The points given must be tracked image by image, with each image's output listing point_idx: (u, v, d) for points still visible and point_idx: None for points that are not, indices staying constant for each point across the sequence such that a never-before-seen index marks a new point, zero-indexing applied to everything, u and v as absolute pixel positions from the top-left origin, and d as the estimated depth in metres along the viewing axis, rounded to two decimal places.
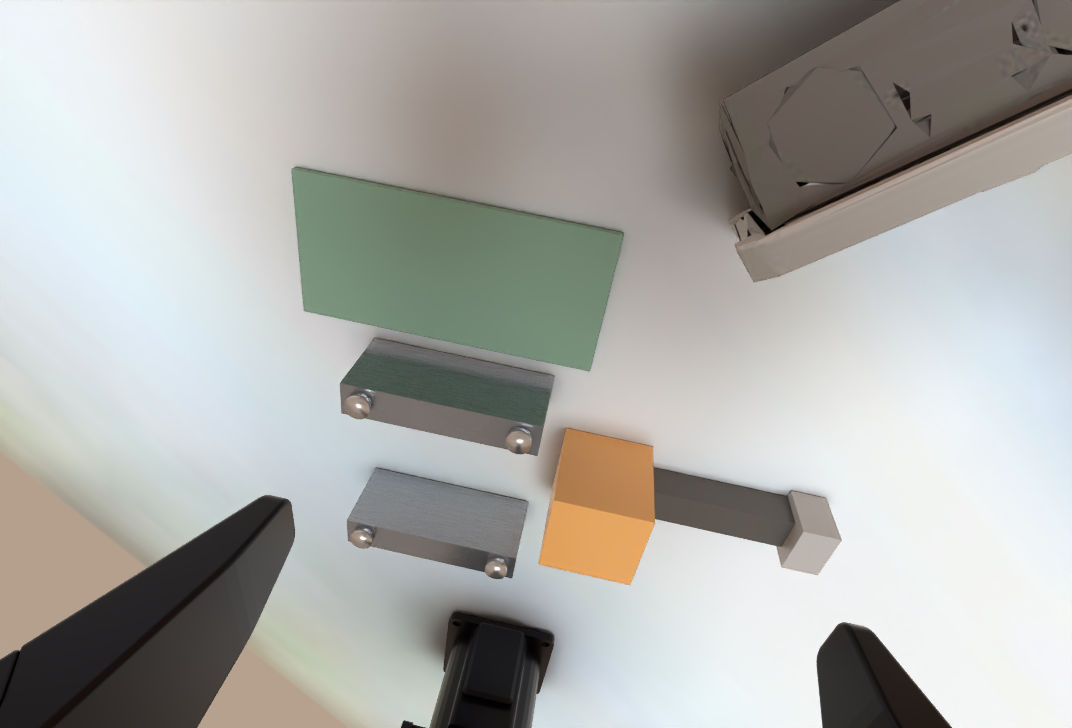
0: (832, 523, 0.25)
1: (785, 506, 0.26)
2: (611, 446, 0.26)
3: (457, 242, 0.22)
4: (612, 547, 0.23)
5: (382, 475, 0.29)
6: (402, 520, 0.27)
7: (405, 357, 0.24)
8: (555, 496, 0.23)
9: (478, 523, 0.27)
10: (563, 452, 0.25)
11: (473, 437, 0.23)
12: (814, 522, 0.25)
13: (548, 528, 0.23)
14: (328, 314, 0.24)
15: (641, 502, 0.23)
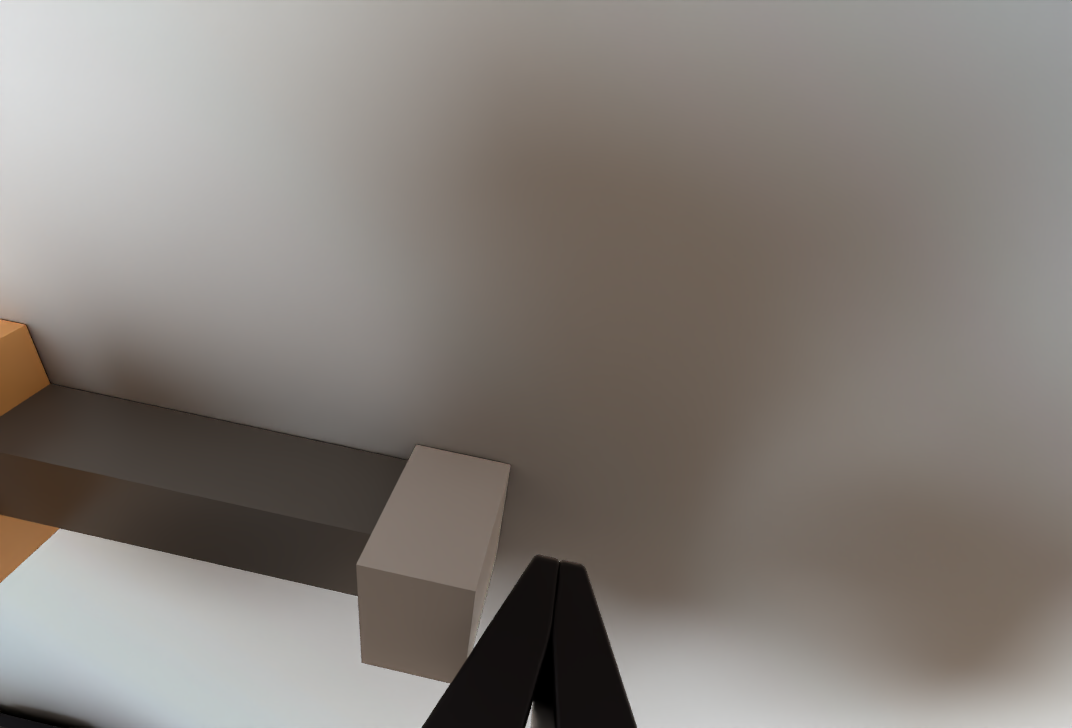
0: (480, 535, 0.08)
1: (386, 487, 0.09)
2: None
3: None
4: None
5: None
6: None
7: None
8: None
9: None
10: None
11: None
12: (420, 533, 0.08)
13: None
14: None
15: None
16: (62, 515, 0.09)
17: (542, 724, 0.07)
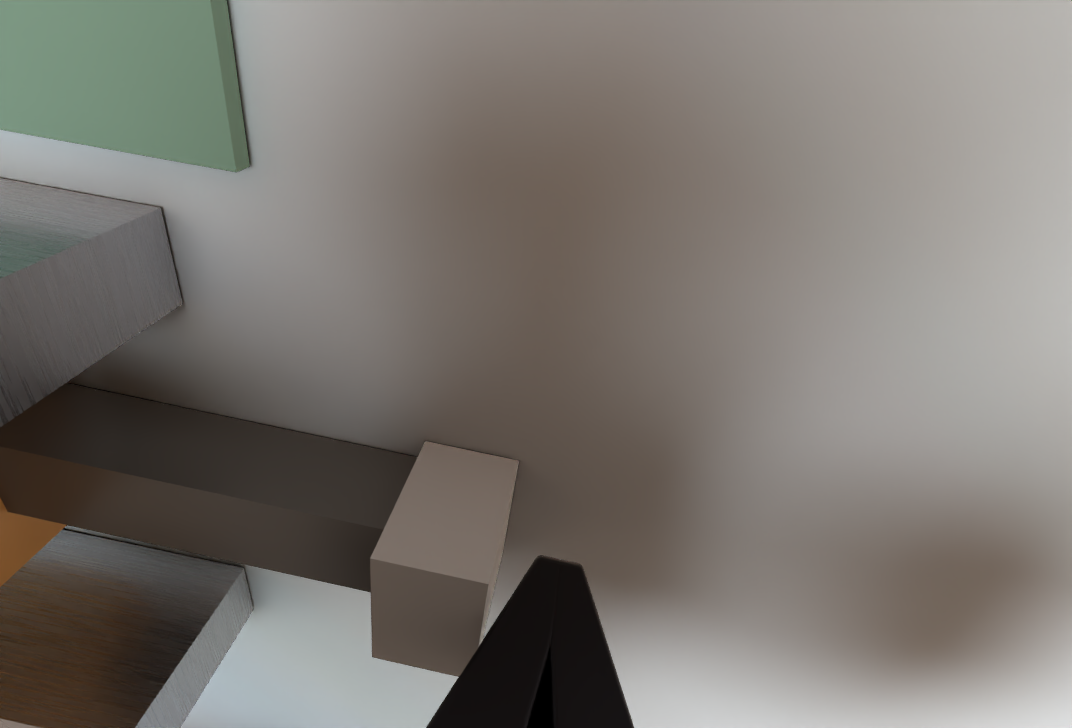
0: (491, 530, 0.08)
1: (396, 483, 0.09)
2: None
3: None
4: None
5: None
6: None
7: None
8: None
9: (72, 635, 0.11)
10: None
11: None
12: (432, 528, 0.08)
13: None
14: None
15: None
16: (71, 512, 0.09)
17: (539, 723, 0.07)
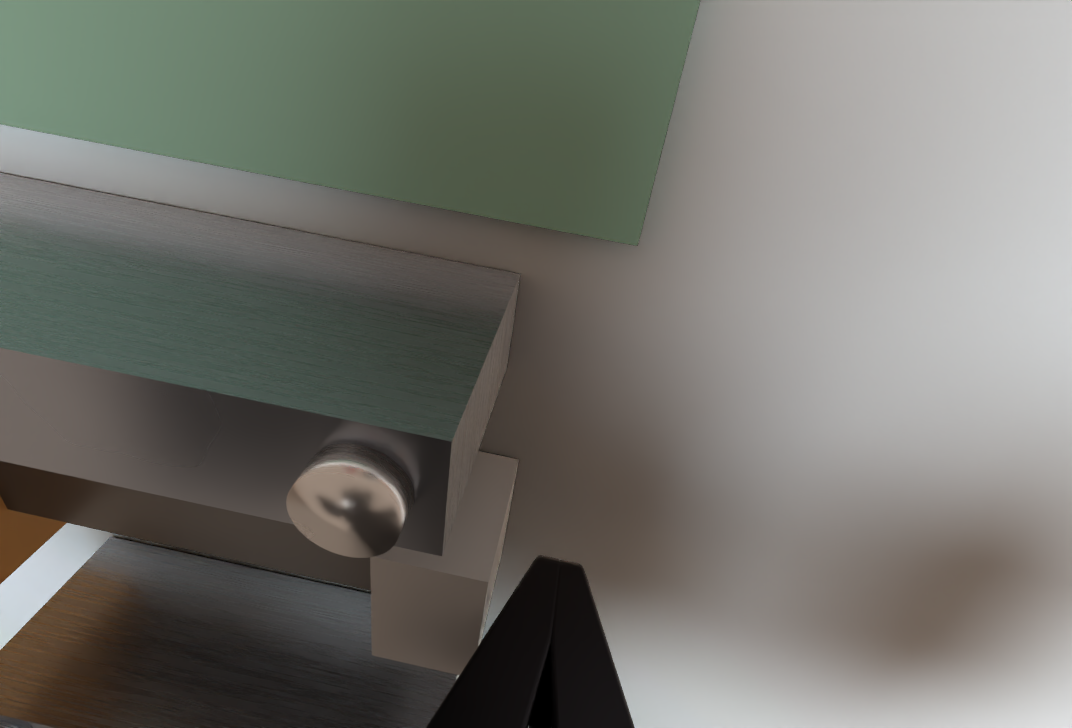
0: (491, 528, 0.08)
1: None
2: None
3: None
4: None
5: (117, 556, 0.12)
6: (117, 695, 0.10)
7: (14, 209, 0.07)
8: None
9: (332, 691, 0.10)
10: None
11: (184, 483, 0.06)
12: None
13: None
14: None
15: None
16: (71, 509, 0.09)
17: (539, 723, 0.07)
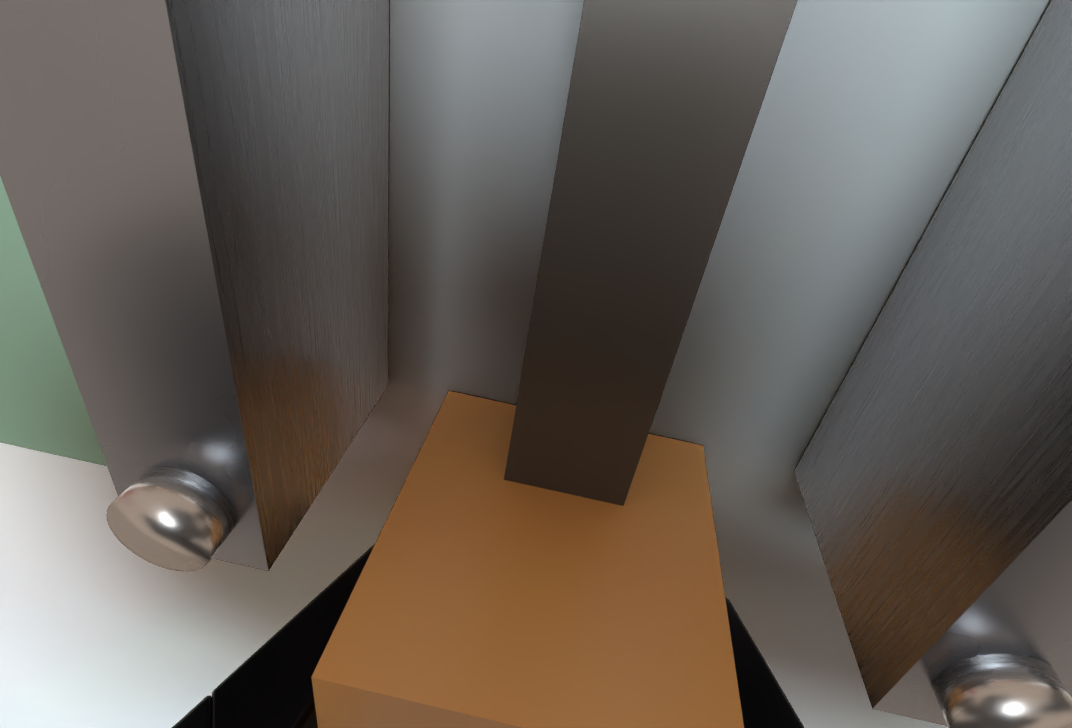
0: None
1: None
2: None
3: None
4: None
5: (814, 466, 0.08)
6: (976, 498, 0.05)
7: None
8: None
9: None
10: None
11: None
12: None
13: None
14: None
15: None
16: (617, 427, 0.07)
17: None
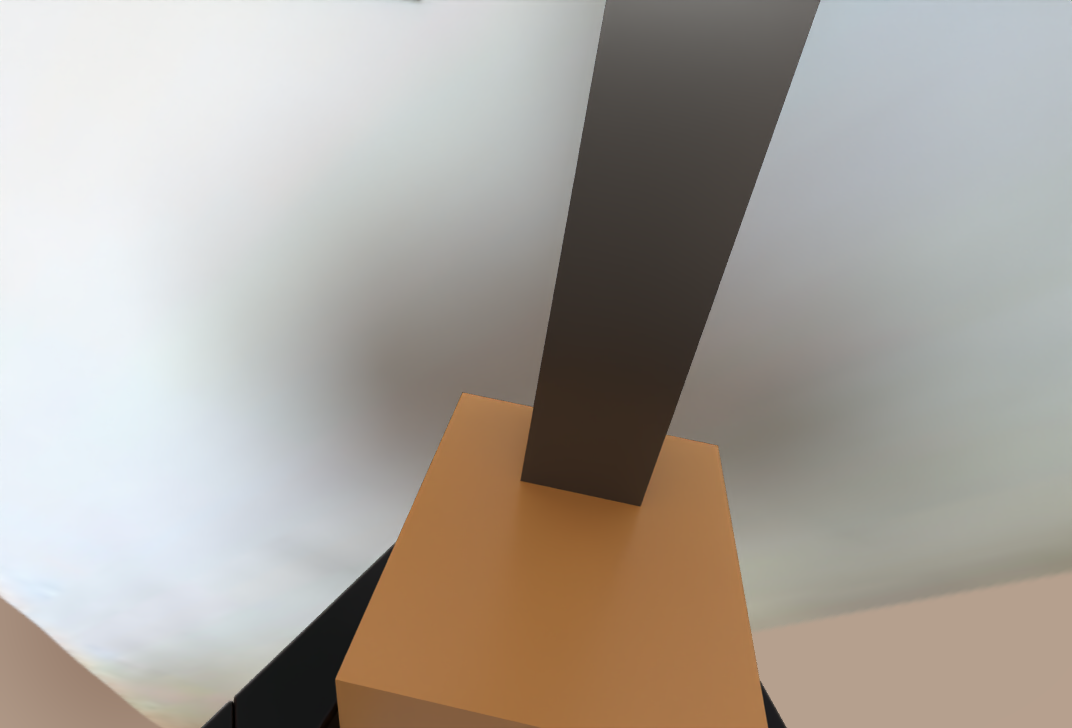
0: None
1: None
2: None
3: None
4: None
5: None
6: None
7: None
8: None
9: None
10: None
11: None
12: None
13: None
14: None
15: None
16: (635, 428, 0.07)
17: None
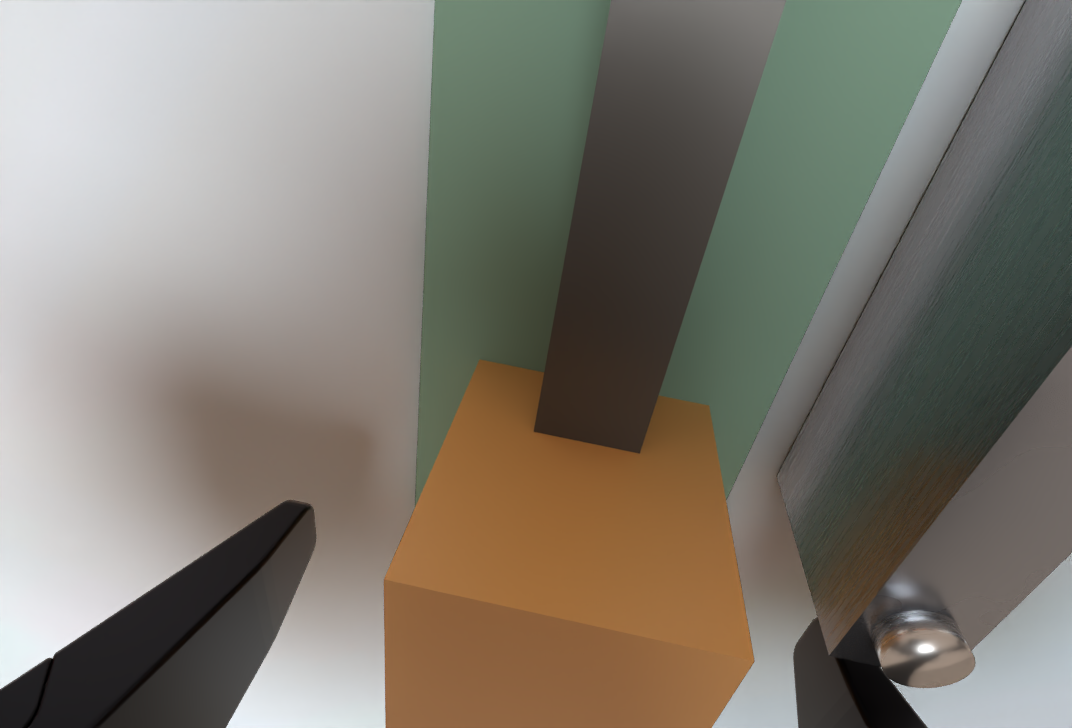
0: None
1: None
2: None
3: (522, 260, 0.09)
4: (540, 678, 0.07)
5: None
6: None
7: (830, 441, 0.09)
8: None
9: None
10: None
11: None
12: None
13: None
14: None
15: None
16: (634, 380, 0.08)
17: None
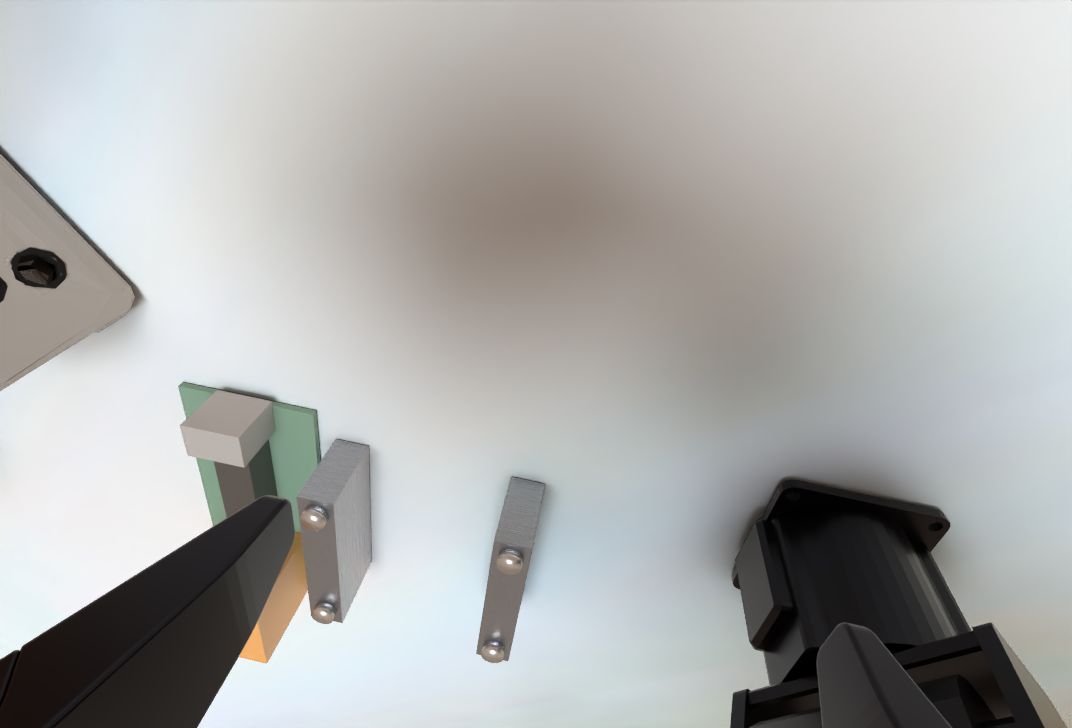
0: None
1: None
2: None
3: None
4: None
5: None
6: None
7: None
8: None
9: None
10: None
11: (330, 546, 0.24)
12: None
13: None
14: None
15: None
16: None
17: None
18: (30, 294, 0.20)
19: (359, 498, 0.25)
